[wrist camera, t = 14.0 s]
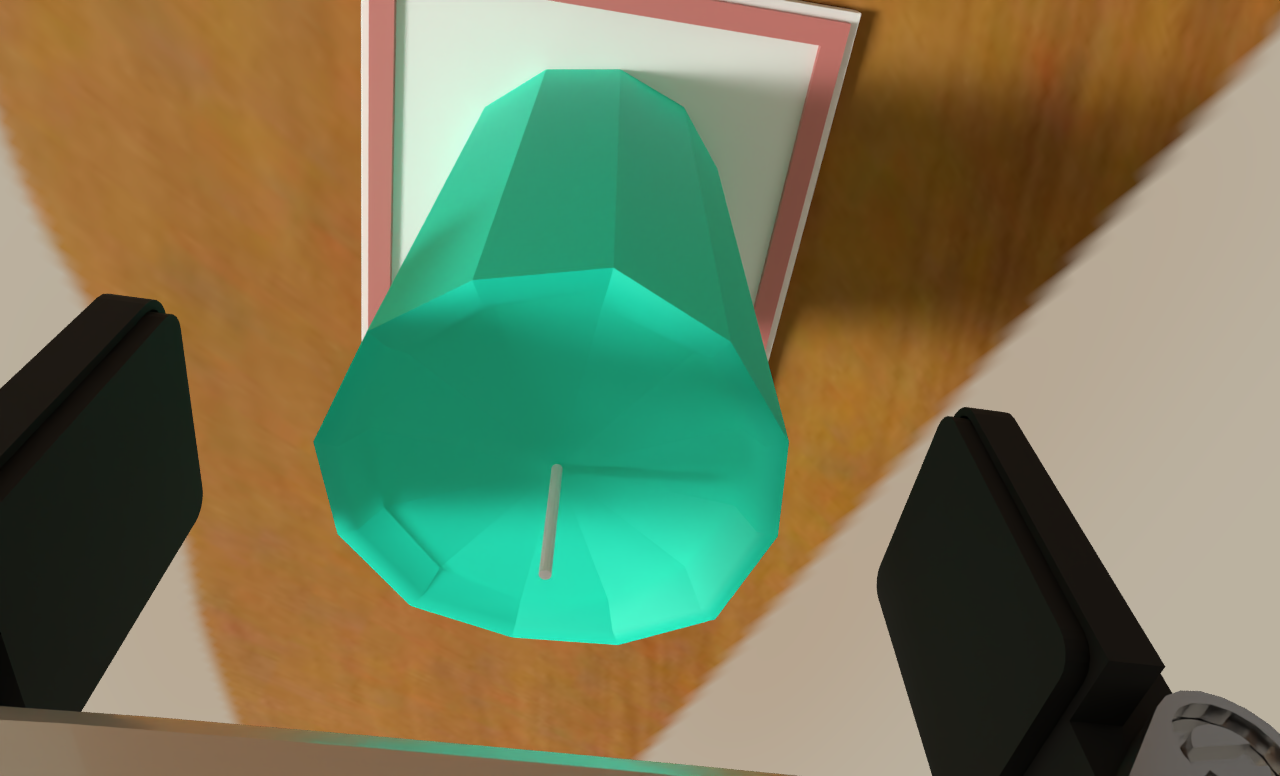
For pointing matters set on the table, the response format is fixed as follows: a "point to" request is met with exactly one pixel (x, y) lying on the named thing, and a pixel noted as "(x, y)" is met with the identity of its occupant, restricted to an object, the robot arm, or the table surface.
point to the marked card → (605, 39)
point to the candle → (565, 381)
